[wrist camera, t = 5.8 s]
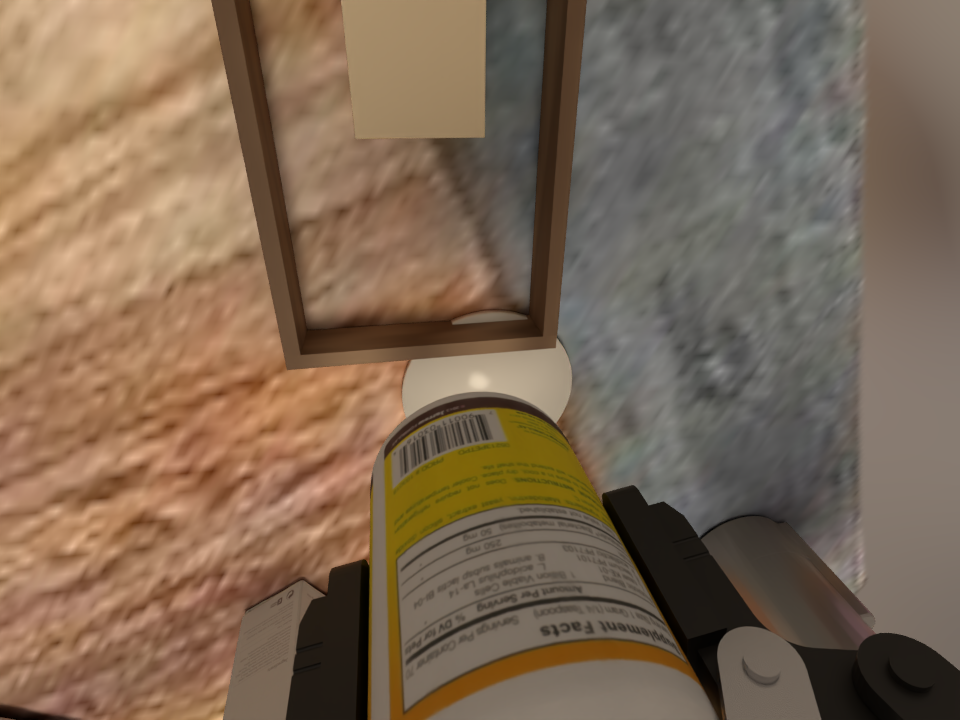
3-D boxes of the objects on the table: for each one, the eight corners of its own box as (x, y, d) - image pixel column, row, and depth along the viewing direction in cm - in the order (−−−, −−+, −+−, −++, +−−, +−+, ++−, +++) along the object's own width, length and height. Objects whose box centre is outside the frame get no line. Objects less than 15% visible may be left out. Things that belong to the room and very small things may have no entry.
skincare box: (242, 610, 39) (177, 875, 26) (306, 573, 38) (272, 825, 25) (315, 656, 43) (290, 903, 30) (374, 623, 42) (375, 861, 29)
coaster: (576, 304, 31) (580, 307, 31) (561, 446, 36) (564, 451, 36) (395, 316, 29) (395, 320, 29) (407, 464, 35) (407, 469, 34)
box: (460, 3, 23) (486, -19, 18) (461, 125, 25) (484, 137, 20) (346, -1, 22) (338, -25, 17) (359, 126, 24) (355, 139, 19)
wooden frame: (567, -57, 22) (593, -75, 20) (540, 326, 31) (555, 348, 29) (214, -76, 20) (191, -99, 17) (294, 344, 29) (287, 369, 26)
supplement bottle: (499, 554, 16) (643, 1108, 7) (336, 505, 14) (268, 1197, 5) (602, 424, 15) (952, 951, 6) (433, 346, 12) (573, 991, 4)
